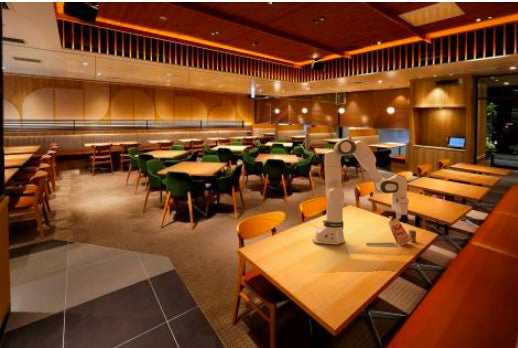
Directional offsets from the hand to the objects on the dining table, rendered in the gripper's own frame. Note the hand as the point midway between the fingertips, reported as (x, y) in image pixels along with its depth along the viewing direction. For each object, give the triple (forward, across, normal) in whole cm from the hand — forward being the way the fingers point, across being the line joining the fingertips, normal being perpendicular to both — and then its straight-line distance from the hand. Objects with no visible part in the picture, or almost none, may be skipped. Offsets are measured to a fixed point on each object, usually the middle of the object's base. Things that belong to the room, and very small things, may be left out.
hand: (398, 218), depth 194 cm
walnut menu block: (+18, -6, +12) cm, 22 cm away
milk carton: (+16, 0, +4) cm, 16 cm away
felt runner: (+18, +2, -12) cm, 22 cm away
